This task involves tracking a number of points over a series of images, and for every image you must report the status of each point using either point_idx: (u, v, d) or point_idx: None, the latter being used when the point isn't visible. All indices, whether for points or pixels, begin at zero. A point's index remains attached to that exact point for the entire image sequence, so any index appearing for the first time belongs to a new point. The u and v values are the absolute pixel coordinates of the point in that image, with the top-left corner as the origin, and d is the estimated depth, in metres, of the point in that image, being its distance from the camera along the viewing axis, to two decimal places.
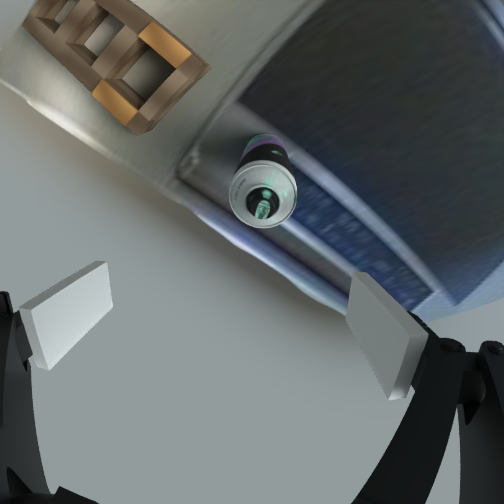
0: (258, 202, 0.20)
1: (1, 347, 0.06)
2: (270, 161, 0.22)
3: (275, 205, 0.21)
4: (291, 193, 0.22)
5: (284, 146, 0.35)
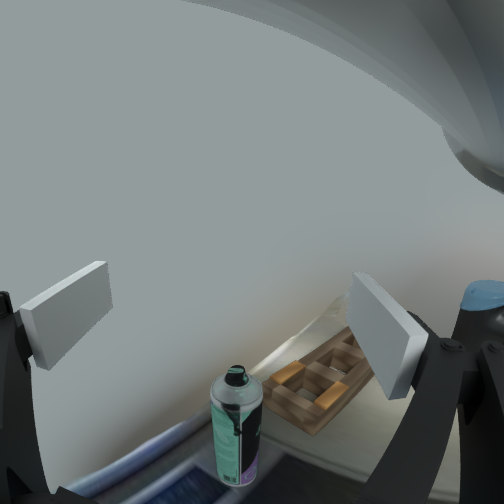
0: (241, 368, 0.27)
1: (1, 347, 0.06)
2: (262, 397, 0.27)
3: (236, 382, 0.26)
4: (240, 400, 0.25)
5: (246, 481, 0.29)
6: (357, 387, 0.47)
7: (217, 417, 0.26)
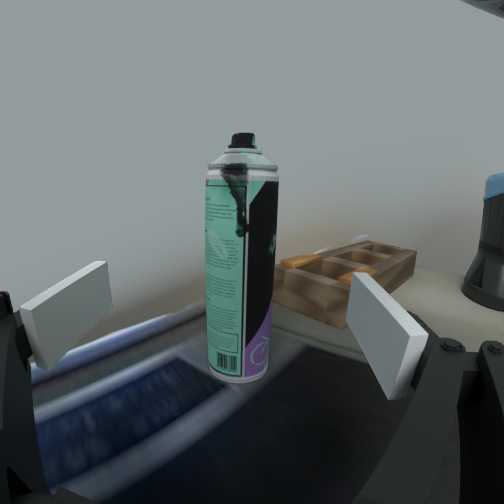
0: None
1: (1, 347, 0.06)
2: (278, 179, 0.21)
3: (242, 144, 0.20)
4: (249, 161, 0.19)
5: (252, 369, 0.23)
6: (386, 284, 0.41)
7: (213, 204, 0.20)
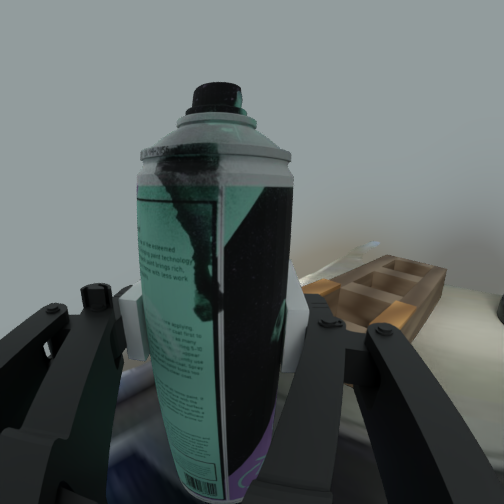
0: None
1: (90, 345, 0.07)
2: (292, 182, 0.10)
3: (213, 105, 0.08)
4: (224, 139, 0.08)
5: (242, 492, 0.11)
6: (420, 319, 0.29)
7: (145, 242, 0.09)
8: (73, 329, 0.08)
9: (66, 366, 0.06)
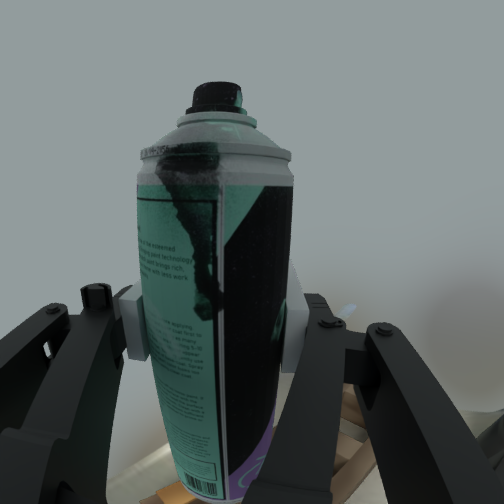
0: None
1: (90, 345, 0.07)
2: (292, 181, 0.10)
3: (213, 104, 0.08)
4: (224, 138, 0.08)
5: (242, 492, 0.11)
6: None
7: (145, 241, 0.09)
8: (73, 329, 0.08)
9: (66, 366, 0.06)
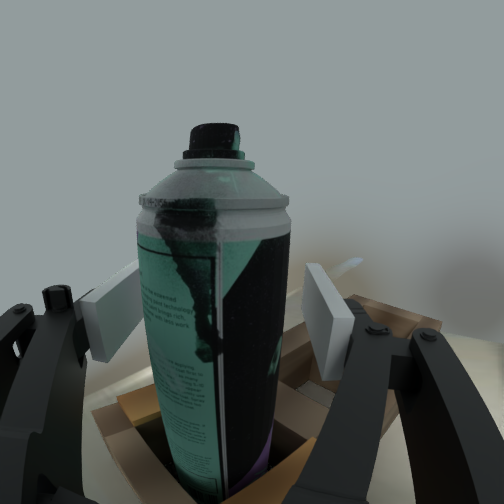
0: None
1: (55, 344, 0.07)
2: (290, 226, 0.10)
3: (210, 148, 0.09)
4: (221, 191, 0.08)
5: None
6: None
7: (147, 288, 0.09)
8: (38, 330, 0.07)
9: (34, 365, 0.05)
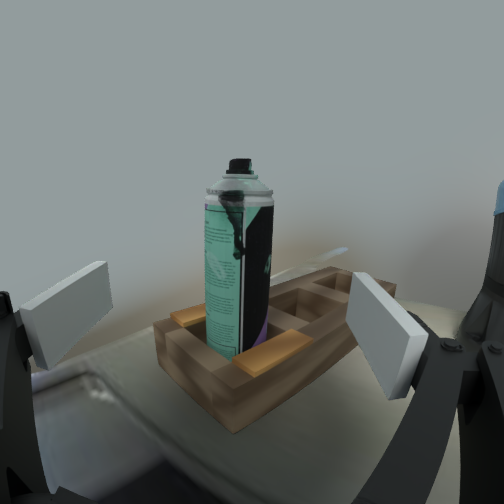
0: None
1: (1, 347, 0.06)
2: (273, 203, 0.23)
3: (239, 169, 0.21)
4: (245, 187, 0.21)
5: None
6: (334, 349, 0.28)
7: (212, 227, 0.22)
8: None
9: None
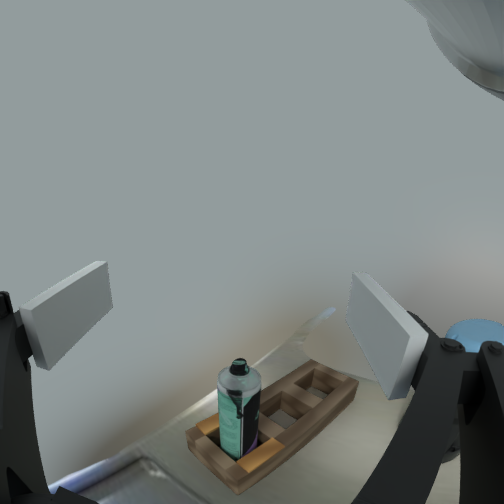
0: (244, 360, 0.33)
1: (1, 347, 0.06)
2: (260, 386, 0.33)
3: (239, 372, 0.32)
4: (243, 387, 0.31)
5: None
6: (301, 442, 0.38)
7: (223, 402, 0.32)
8: None
9: None
